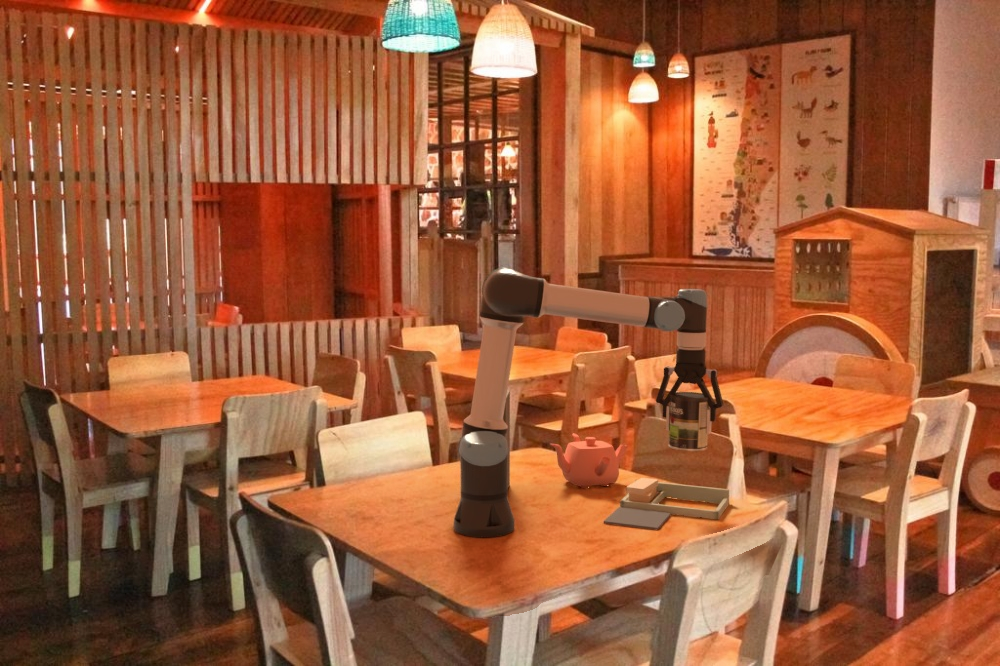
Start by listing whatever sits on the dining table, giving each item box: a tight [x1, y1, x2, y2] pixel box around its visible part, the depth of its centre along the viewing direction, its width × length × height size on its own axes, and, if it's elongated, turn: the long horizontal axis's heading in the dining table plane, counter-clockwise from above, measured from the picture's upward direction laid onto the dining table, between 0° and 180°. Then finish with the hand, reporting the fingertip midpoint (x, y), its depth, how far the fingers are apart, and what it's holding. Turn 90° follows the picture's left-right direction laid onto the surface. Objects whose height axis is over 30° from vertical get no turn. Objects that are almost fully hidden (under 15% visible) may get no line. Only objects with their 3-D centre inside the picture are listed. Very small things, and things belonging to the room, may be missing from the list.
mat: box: [603, 506, 672, 531], centre depth 246 cm, size 14×14×1 cm
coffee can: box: [668, 391, 710, 453], centre depth 252 cm, size 10×10×14 cm
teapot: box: [549, 432, 628, 489], centre depth 280 cm, size 18×18×14 cm
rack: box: [619, 477, 730, 520], centre depth 258 cm, size 16×26×5 cm, turn 67°
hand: (688, 431), depth 252 cm, fingers closed on coffee can, 10 cm apart
